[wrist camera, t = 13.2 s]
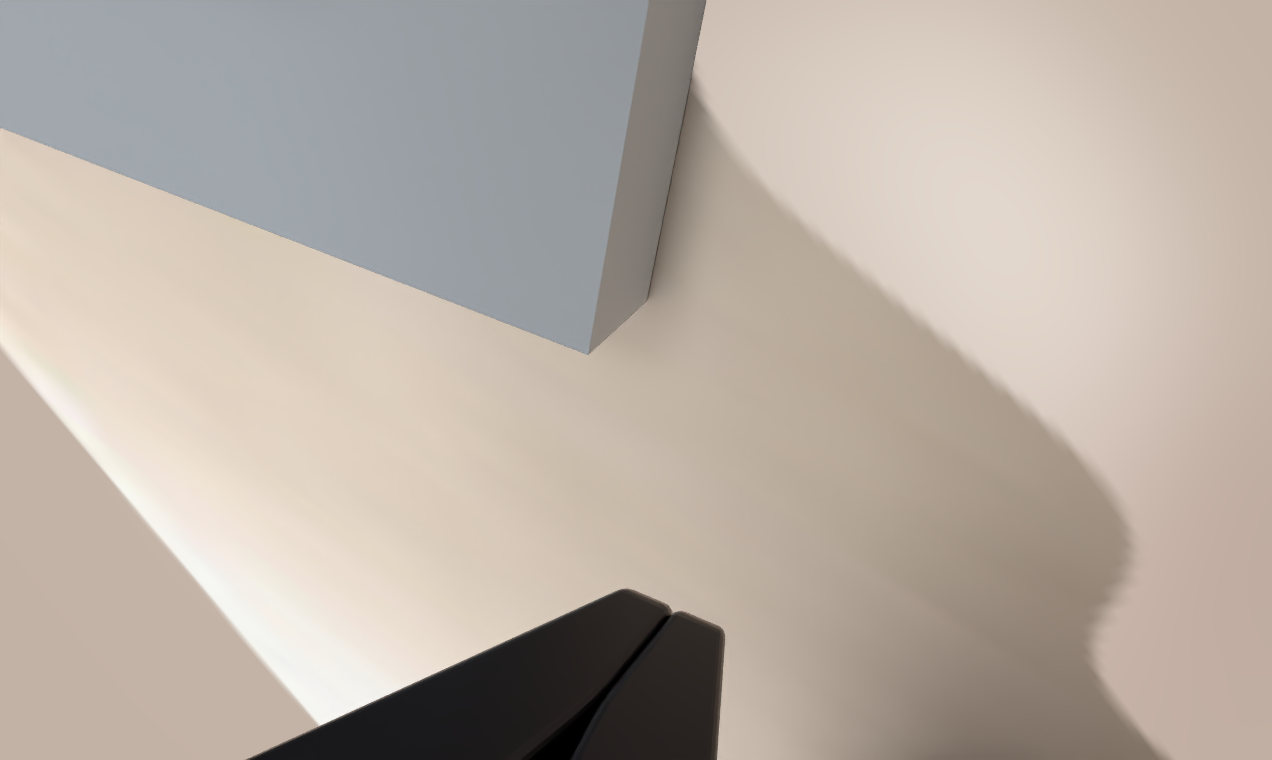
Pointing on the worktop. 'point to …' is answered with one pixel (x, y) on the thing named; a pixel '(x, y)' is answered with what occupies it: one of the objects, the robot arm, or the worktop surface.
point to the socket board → (388, 131)
